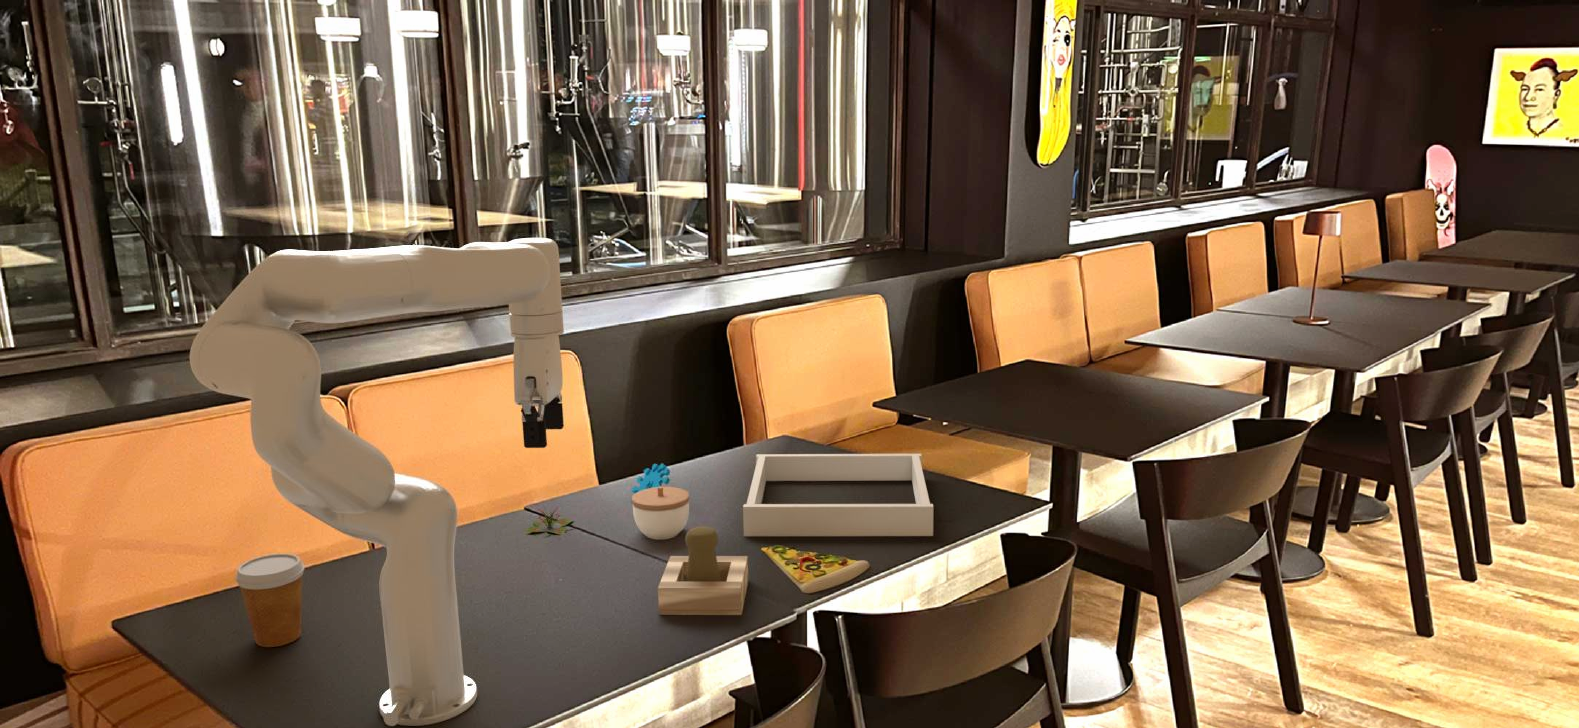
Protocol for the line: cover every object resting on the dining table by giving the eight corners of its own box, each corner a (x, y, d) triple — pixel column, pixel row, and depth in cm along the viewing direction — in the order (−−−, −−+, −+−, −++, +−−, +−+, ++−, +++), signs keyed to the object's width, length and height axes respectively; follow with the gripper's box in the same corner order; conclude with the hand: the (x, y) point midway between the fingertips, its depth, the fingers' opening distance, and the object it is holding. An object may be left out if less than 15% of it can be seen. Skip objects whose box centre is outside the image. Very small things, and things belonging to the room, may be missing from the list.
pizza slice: (813, 600, 180) (812, 583, 179) (729, 566, 194) (729, 550, 194) (876, 573, 190) (876, 557, 189) (793, 542, 205) (792, 527, 204)
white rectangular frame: (933, 537, 204) (933, 506, 203) (743, 537, 206) (743, 506, 204) (920, 480, 236) (920, 453, 235) (757, 481, 238) (756, 454, 237)
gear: (621, 497, 226) (649, 456, 229) (640, 511, 230) (668, 471, 232) (647, 511, 218) (676, 469, 220) (667, 525, 221) (695, 484, 223)
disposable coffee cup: (293, 618, 175) (284, 547, 172) (324, 635, 169) (315, 561, 167) (232, 640, 168) (222, 566, 165) (262, 658, 162) (252, 582, 159)
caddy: (741, 615, 173) (740, 588, 172) (659, 614, 174) (657, 588, 173) (748, 581, 186) (747, 556, 185) (671, 581, 187) (670, 556, 186)
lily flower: (535, 547, 204) (534, 524, 203) (507, 530, 213) (505, 507, 212) (593, 532, 211) (591, 509, 210) (562, 515, 221) (561, 493, 220)
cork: (680, 599, 177) (677, 535, 174) (690, 584, 183) (687, 521, 180) (717, 602, 176) (715, 536, 173) (726, 586, 182) (724, 523, 179)
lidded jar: (698, 540, 205) (696, 492, 203) (641, 549, 201) (639, 500, 199) (681, 521, 215) (680, 475, 213) (627, 529, 211) (625, 482, 209)
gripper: (527, 314, 169) (535, 422, 172) (492, 335, 152) (502, 455, 156) (576, 313, 168) (583, 422, 172) (546, 335, 152) (554, 455, 155)
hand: (544, 437), depth 164 cm, fingers open, 9 cm apart
